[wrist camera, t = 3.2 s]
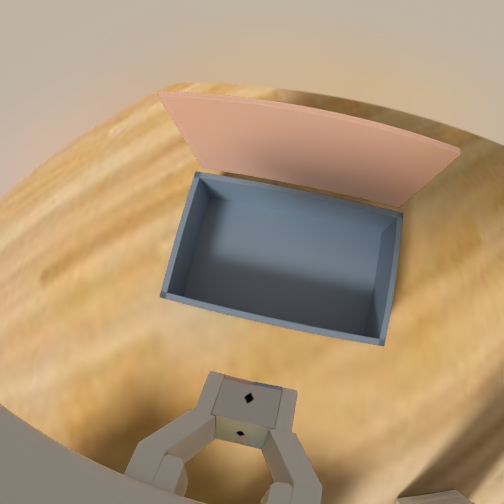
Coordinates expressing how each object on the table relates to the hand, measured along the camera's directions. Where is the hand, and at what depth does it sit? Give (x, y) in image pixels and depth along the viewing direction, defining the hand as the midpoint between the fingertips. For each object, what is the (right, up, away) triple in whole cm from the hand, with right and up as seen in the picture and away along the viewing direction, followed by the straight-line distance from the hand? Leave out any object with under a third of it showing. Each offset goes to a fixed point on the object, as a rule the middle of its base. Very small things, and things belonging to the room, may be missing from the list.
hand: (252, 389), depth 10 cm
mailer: (+3, +3, +20) cm, 20 cm away
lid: (+3, +11, +10) cm, 15 cm away
